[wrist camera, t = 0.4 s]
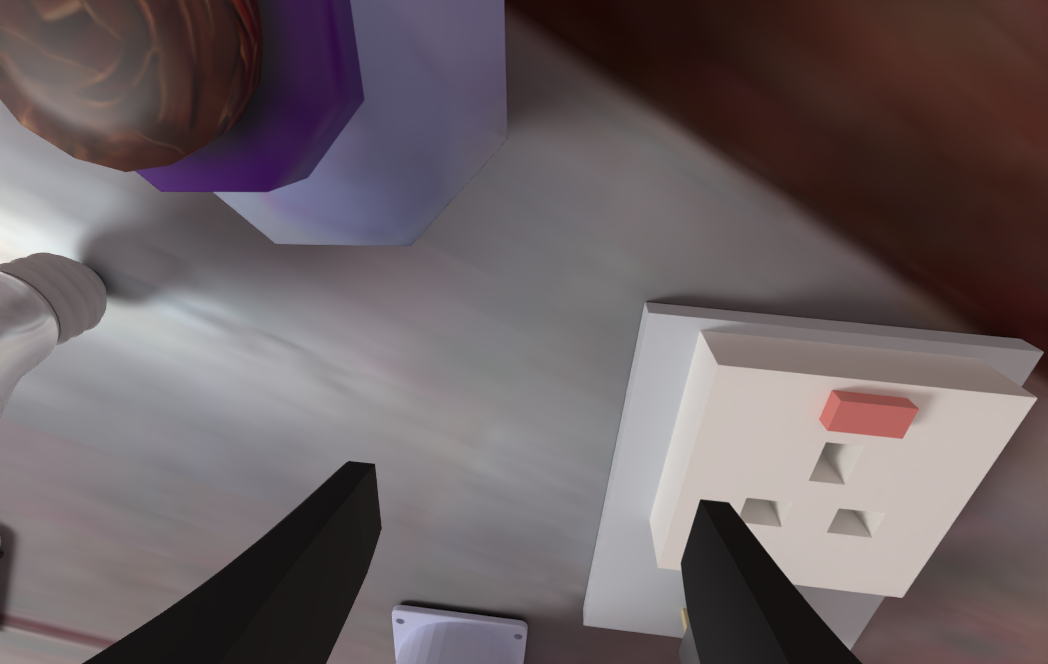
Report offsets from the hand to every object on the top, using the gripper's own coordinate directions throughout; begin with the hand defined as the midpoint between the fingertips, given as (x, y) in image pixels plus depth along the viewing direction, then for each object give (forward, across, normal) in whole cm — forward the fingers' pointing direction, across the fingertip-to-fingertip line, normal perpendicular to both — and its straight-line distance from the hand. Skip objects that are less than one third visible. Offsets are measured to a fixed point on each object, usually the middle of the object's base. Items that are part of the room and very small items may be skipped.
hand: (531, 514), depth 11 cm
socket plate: (+9, -11, +4) cm, 14 cm away
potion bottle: (+10, +5, -9) cm, 14 cm away
